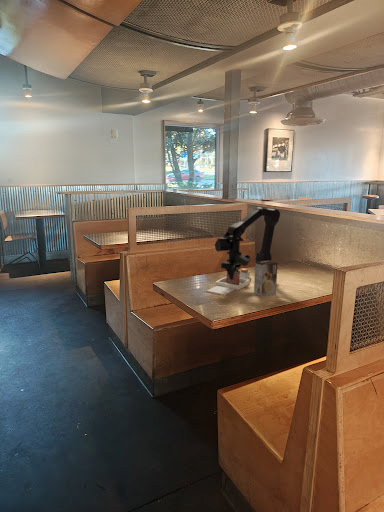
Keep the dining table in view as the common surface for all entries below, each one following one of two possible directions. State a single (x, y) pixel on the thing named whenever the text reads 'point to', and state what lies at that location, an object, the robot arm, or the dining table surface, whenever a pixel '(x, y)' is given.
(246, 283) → the holder
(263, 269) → the coffee box
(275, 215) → the robot arm
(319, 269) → the dining table surface
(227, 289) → the mat
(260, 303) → the dining table surface
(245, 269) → the plunger
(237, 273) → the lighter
